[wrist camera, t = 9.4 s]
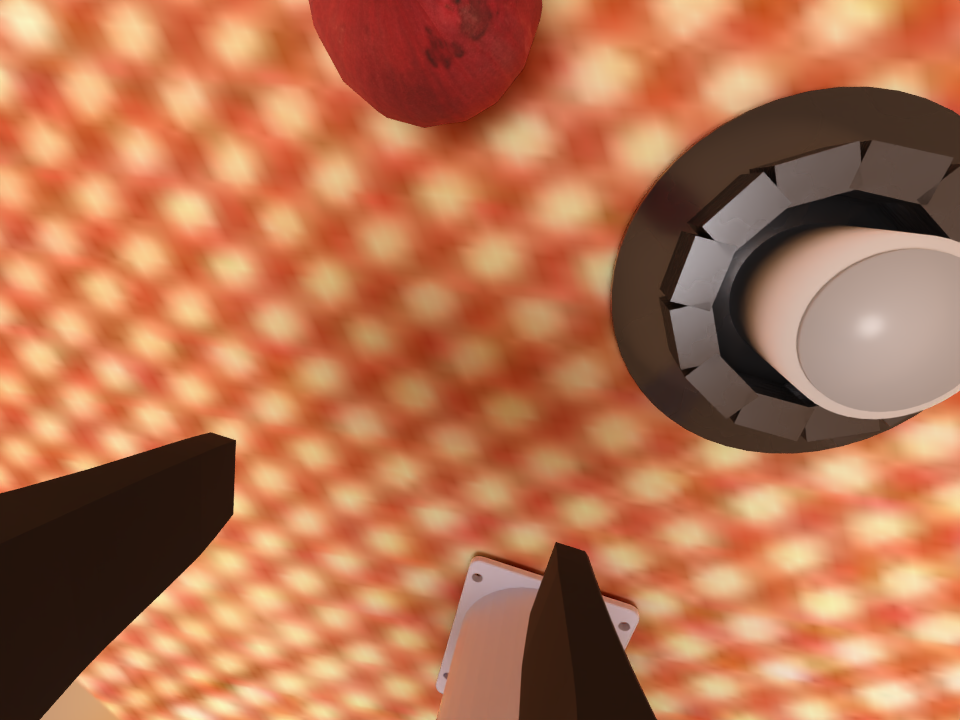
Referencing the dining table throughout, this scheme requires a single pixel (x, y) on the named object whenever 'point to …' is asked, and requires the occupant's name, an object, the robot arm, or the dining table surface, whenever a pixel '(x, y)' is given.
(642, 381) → the ridged round lid
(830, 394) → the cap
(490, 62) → the onion
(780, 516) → the dining table surface
